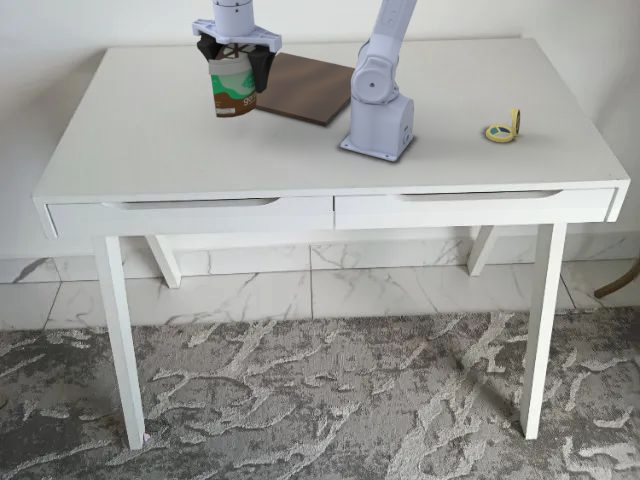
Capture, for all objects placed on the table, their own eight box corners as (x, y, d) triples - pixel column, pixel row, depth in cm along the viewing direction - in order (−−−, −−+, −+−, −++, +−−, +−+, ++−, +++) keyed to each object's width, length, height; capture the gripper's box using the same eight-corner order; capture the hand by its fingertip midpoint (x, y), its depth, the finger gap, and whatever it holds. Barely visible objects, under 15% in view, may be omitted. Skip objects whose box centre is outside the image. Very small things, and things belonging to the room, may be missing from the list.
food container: (252, 127, 100) (248, 66, 93) (213, 122, 101) (207, 61, 94) (272, 89, 109) (270, 31, 103) (236, 84, 110) (232, 27, 103)
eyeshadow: (488, 125, 109) (493, 99, 106) (519, 131, 107) (525, 104, 104) (483, 139, 106) (488, 112, 103) (514, 145, 104) (520, 118, 101)
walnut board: (373, 76, 123) (373, 72, 122) (325, 126, 109) (325, 122, 109) (280, 55, 130) (280, 51, 129) (224, 100, 116) (224, 96, 116)
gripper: (174, 0, 94) (188, 87, 103) (261, 17, 89) (268, 107, 98) (202, -16, 99) (213, 68, 107) (287, -1, 93) (291, 86, 102)
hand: (241, 85), depth 103 cm, fingers closed on food container, 7 cm apart
